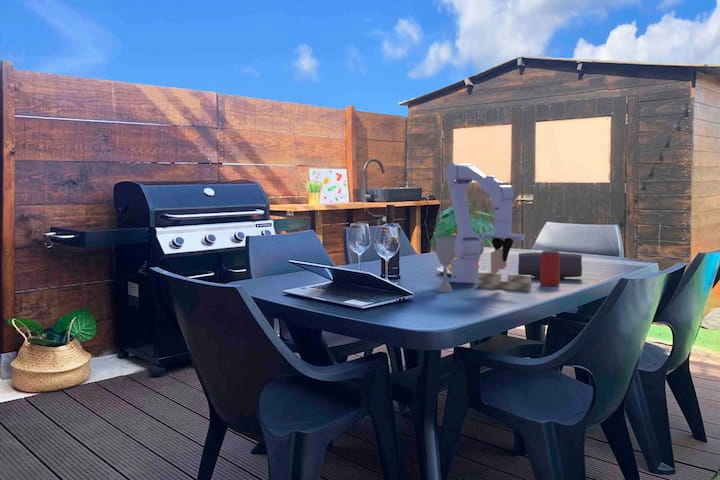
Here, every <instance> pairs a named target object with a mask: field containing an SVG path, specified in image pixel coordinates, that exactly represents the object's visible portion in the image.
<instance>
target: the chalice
mask: <svg viewBox="0 0 720 480" xmlns="http://www.w3.org/2000/svg"><path fill="white" fill-rule="evenodd" d="M455 237H456V236H454V237H453V236H438V237H437V236H435V237H434V240H435V254H436V257H437V259H438V261H439V263H440V264H441V266H443V270H442V272H443V275H442V278H443V281H442V283H440V284H439V287H438V288H437V292H441V293H451V292H453V289H452V286H451V284H450V283H448V281H447V279H448V278H449V277H448V268H447V266H449V265H450V263H452V261H453V259H454V256H455V239H456V238H455Z"/></svg>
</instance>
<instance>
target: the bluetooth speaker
mask: <svg viewBox="0 0 720 480" xmlns="http://www.w3.org/2000/svg"><path fill="white" fill-rule="evenodd" d="M542 253H543V252H542V251H541V252H521V253H518V266H517V268H518V269H517V270H518V272H517V273H518V275H531V277H534V279H535V280H536V279H539V280H540V267H541V255H542ZM559 255H560V279H563V280H564V279H565V278H579V277H580V278H581V277H582V275H583V265H582V264H583V263H582V262H583V261H582V259H583V255H582V254H579V253H565V252H559Z"/></svg>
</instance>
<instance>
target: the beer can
mask: <svg viewBox="0 0 720 480" xmlns="http://www.w3.org/2000/svg"><path fill="white" fill-rule="evenodd" d="M541 252H543V253H542V255H541V267H540V279H539V284H540V285H541V286H543V287H558V286H560V282H561V281H560V255H559V253H560V252H559V251H558V250H542V251H541Z"/></svg>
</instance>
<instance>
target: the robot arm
mask: <svg viewBox="0 0 720 480" xmlns="http://www.w3.org/2000/svg"><path fill="white" fill-rule="evenodd" d="M445 177H446V183H447V187H448V189H449V194H450V198H451V203H452V208H453V213H454V214H453V215H454V218H455V222H456V227H457V231H458V233H457V234H456V235H455V236H454V237H455V238H456V239H455V252H454V255H455V256H456V257H453V258H452V260H451V280H450V282H451V283H462V284H463V283H465V284H478V273H479V265H480V264H479V261H480V260H479V259H480V258H481V256H482V255H483V253H484V247H485V246H484V244H483V242H482V239H483V240H485V239H486V240H491V244H492V245H493V248H494V251H495V250H497V249H499V248H501V247H503V261H506V262H507V260H508V256H509V253H510V250H511V247H512V246H513V244H514V241H525V240H526V239H525V235H526V234H524V233H523V234H522V233H512V224H513V223H512V219H513V218H512V216H513V215H512V214H513V212H512V211H513V209H512V208H513V202H514V200H515V199H516V196H517V192H516V189H515V187H514V186H513V185H512V184H505V183H504V181H502V180H501V181H500V180H499V179H497V178H496V175H494V174H493V175H486V174H484V173H483V172H482V171H481V170H480V169H478V168H477V165H475V164H474V163H472V162H468V163H454V162H451V163H449V164H448V165H447V167H446V170H445ZM473 181H474V182H476V183H478V184H479V185H480V189H481V190H482V191H484V192H485V193H486V194H488V195H489V196H490V198H491V201H492V206H493V208H494V213H493V214H494V215H493V232H482V233H480V234H478V233H477V232H475V230H474V229H473V224H472V219H471V215H470V210H469V206H468V202H467V197H466V192H465V191H466V189H467V188H469V186H470V185H471V183H472V182H473ZM480 235H481V236H480Z"/></svg>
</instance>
